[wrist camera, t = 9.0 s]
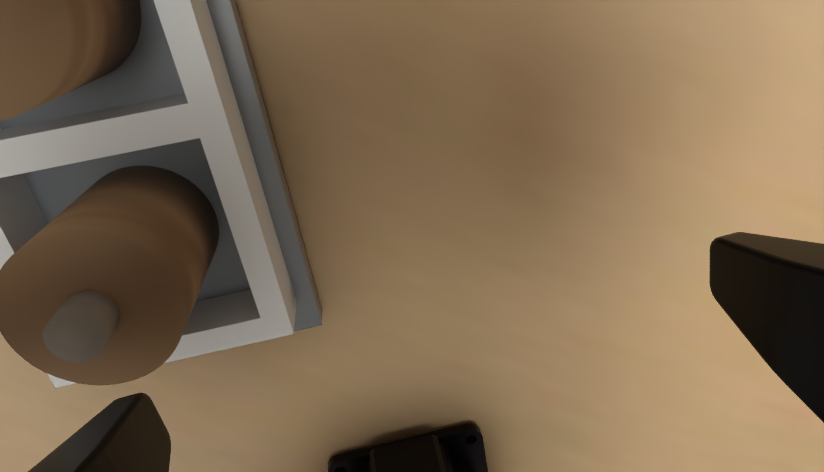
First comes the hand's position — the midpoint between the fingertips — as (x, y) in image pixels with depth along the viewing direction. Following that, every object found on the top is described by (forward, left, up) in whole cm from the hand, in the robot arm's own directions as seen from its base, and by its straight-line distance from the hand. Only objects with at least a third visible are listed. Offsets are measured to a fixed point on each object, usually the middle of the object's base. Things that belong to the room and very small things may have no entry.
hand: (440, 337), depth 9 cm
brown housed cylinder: (-1, +7, -10) cm, 12 cm away
